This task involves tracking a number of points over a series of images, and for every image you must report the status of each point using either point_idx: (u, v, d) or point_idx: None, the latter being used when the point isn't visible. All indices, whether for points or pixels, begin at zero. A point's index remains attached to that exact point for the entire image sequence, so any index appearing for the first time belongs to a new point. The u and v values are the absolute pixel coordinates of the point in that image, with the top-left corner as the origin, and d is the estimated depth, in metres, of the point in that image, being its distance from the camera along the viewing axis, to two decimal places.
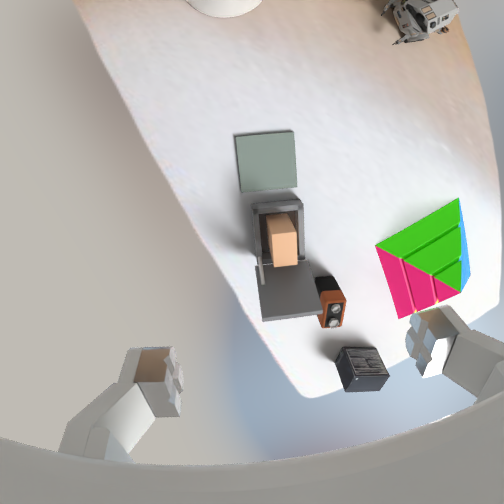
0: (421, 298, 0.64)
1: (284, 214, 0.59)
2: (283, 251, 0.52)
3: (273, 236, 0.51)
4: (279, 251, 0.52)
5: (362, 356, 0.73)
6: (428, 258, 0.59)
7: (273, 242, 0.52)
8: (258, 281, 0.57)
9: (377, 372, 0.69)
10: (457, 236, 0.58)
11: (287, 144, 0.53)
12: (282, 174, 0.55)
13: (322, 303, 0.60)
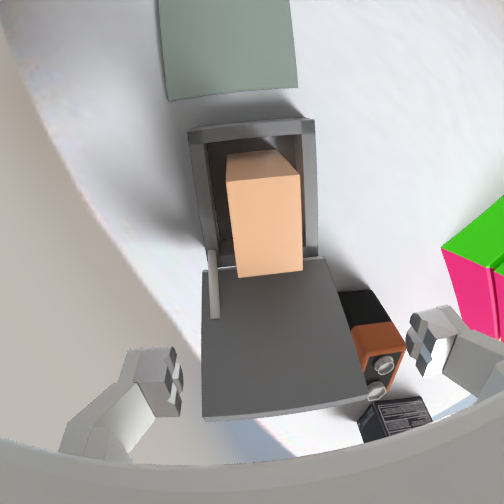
0: None
1: (269, 150, 0.24)
2: (261, 234, 0.18)
3: (231, 188, 0.17)
4: (252, 232, 0.18)
5: (403, 416, 0.39)
6: None
7: (232, 206, 0.17)
8: (204, 310, 0.23)
9: None
10: None
11: None
12: (262, 57, 0.21)
13: None
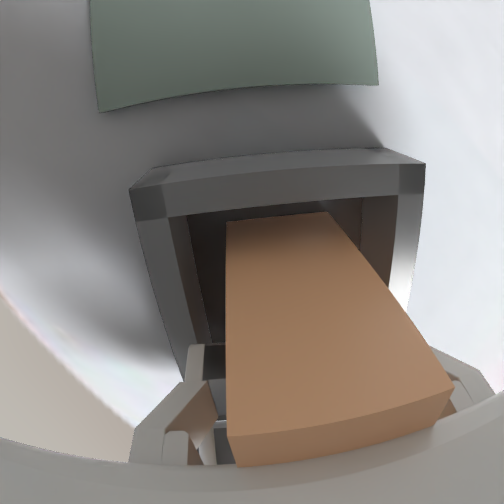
0: None
1: (314, 217, 0.12)
2: None
3: (245, 445, 0.04)
4: None
5: None
6: None
7: None
8: None
9: None
10: None
11: None
12: (305, 15, 0.08)
13: None
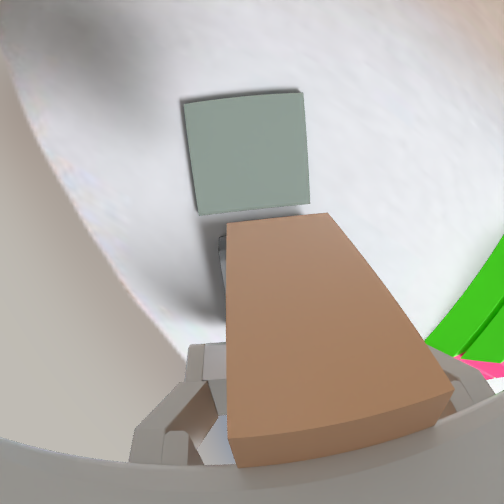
0: (497, 373, 0.36)
1: (314, 218, 0.12)
2: None
3: (246, 447, 0.04)
4: None
5: None
6: (494, 340, 0.32)
7: None
8: None
9: None
10: None
11: (291, 117, 0.25)
12: (280, 178, 0.27)
13: None
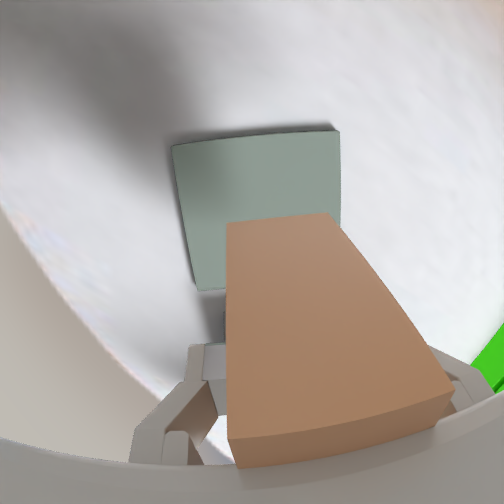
0: None
1: (315, 217, 0.12)
2: None
3: (246, 448, 0.04)
4: None
5: None
6: None
7: None
8: None
9: None
10: None
11: (322, 165, 0.19)
12: None
13: None
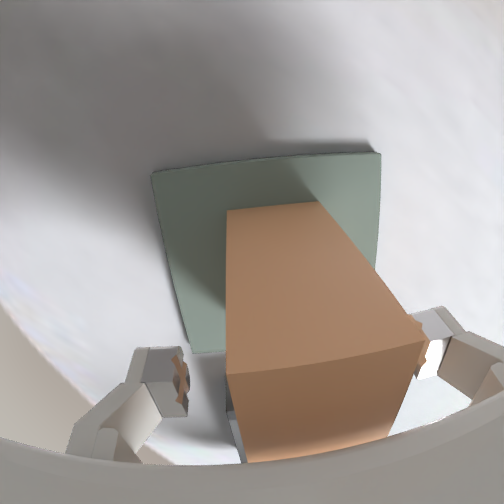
0: None
1: (307, 205, 0.13)
2: (309, 444, 0.07)
3: (242, 385, 0.06)
4: (288, 445, 0.07)
5: None
6: None
7: (244, 415, 0.06)
8: None
9: None
10: None
11: (356, 200, 0.14)
12: None
13: None
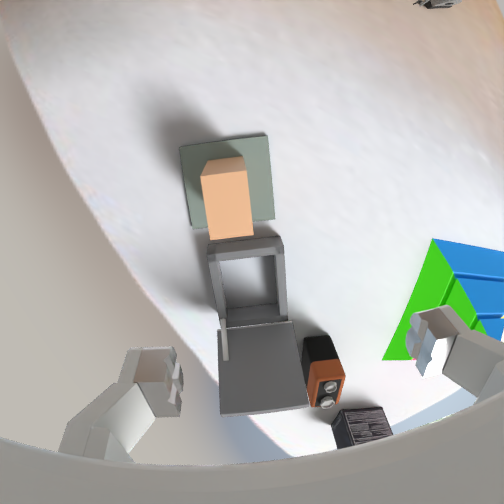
0: None
1: (237, 157, 0.34)
2: (224, 209, 0.28)
3: (203, 180, 0.27)
4: (217, 208, 0.28)
5: (364, 421, 0.54)
6: None
7: (204, 192, 0.27)
8: (219, 355, 0.38)
9: None
10: (460, 294, 0.40)
11: (259, 155, 0.35)
12: (252, 201, 0.37)
13: (312, 378, 0.41)
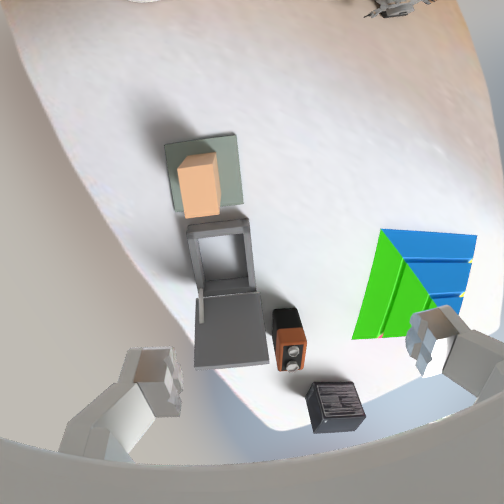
0: None
1: (211, 153, 0.42)
2: (195, 194, 0.35)
3: (179, 171, 0.34)
4: (190, 193, 0.35)
5: (335, 394, 0.63)
6: (400, 321, 0.51)
7: (180, 180, 0.35)
8: (196, 319, 0.46)
9: (351, 413, 0.58)
10: (411, 277, 0.48)
11: (229, 151, 0.42)
12: (224, 188, 0.45)
13: (278, 344, 0.49)
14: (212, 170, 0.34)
